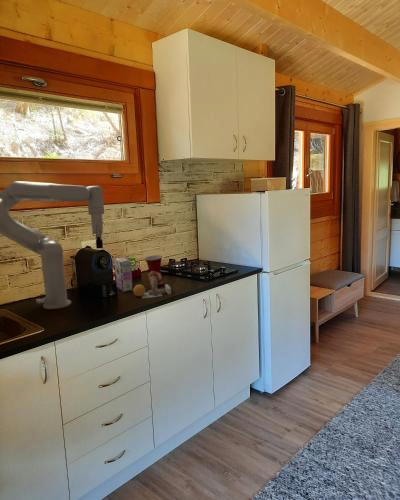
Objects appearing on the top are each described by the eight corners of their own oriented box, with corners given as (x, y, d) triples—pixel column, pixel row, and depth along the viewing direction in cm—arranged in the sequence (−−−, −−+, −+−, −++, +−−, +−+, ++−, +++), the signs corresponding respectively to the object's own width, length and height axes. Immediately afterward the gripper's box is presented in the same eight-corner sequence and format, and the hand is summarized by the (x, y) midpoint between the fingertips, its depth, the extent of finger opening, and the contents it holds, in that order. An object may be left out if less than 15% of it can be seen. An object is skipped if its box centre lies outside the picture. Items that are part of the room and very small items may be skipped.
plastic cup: (142, 276, 235) (140, 257, 233) (154, 273, 244) (153, 254, 242) (155, 278, 229) (153, 258, 227) (167, 274, 237) (165, 255, 235)
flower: (141, 283, 210) (145, 273, 206) (150, 276, 217) (154, 266, 213) (155, 294, 208) (159, 283, 204) (163, 286, 216) (168, 276, 211)
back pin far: (151, 294, 194) (150, 277, 193) (151, 292, 197) (150, 276, 195) (156, 293, 195) (155, 277, 194) (155, 292, 197) (154, 276, 196)
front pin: (148, 291, 191) (165, 289, 193) (148, 290, 194) (164, 288, 196) (149, 295, 192) (165, 293, 194) (148, 294, 194) (165, 292, 196)
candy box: (133, 290, 203) (131, 260, 201) (122, 292, 201) (120, 261, 198) (126, 285, 216) (124, 256, 213) (116, 286, 213) (113, 258, 211)
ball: (146, 285, 189) (145, 297, 189) (144, 283, 194) (144, 294, 195) (134, 285, 187) (133, 297, 188) (133, 283, 193) (132, 294, 194)
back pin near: (153, 296, 190) (152, 279, 188) (152, 295, 192) (151, 278, 191) (158, 296, 190) (156, 279, 189) (157, 294, 193) (156, 278, 191)
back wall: (168, 294, 192) (167, 288, 192) (165, 290, 201) (164, 284, 200) (171, 294, 193) (170, 288, 192) (168, 289, 201) (167, 284, 201)
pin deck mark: (142, 298, 187) (142, 298, 187) (140, 293, 197) (140, 293, 197) (162, 296, 189) (162, 295, 189) (159, 291, 199) (159, 290, 199)
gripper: (88, 211, 193) (92, 246, 196) (87, 212, 179) (91, 251, 182) (103, 210, 195) (107, 245, 198) (104, 211, 181) (107, 249, 184)
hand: (99, 248), depth 190 cm, fingers closed
